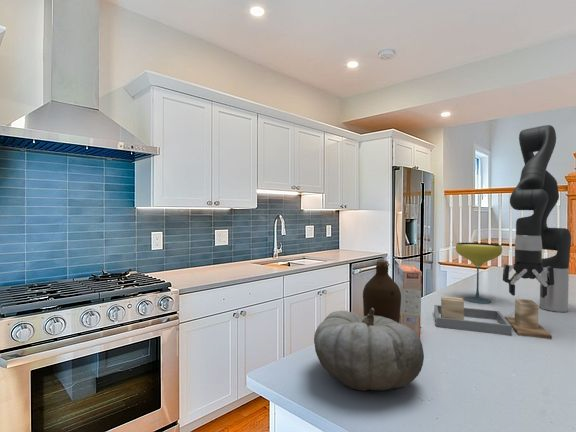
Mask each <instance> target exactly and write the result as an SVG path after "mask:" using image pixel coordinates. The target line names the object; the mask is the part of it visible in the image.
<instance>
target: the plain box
mask: <svg viewBox="0 0 576 432" xmlns="http://www.w3.org/2000/svg"><path fill="white" fill-rule="evenodd" d="M440 305H441V314H440V318H449V319H459V320H465V319H464V317H465V316H464V308H465V301H464V298H462V297H461V298H460V297H453V296H452V297H451V296H441V297H440Z"/></svg>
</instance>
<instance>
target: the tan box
mask: <svg viewBox="0 0 576 432" xmlns="http://www.w3.org/2000/svg"><path fill="white" fill-rule="evenodd" d="M514 317H515V322H516V323H517V325H518V326H519V327H520V328H530V329H538V324H539V303H536V302H535V301H534V300H532V299H524V298H514Z"/></svg>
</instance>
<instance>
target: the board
mask: <svg viewBox="0 0 576 432" xmlns="http://www.w3.org/2000/svg"><path fill="white" fill-rule="evenodd" d="M504 317H505V319H506V320H507V321H508V322H509V323H510V325H511V326H512V328H513V329H512V331H514V332H515V333H516V334H517V336H522V337H530V338H531V337H532V338H539V339H547V340H552V339H553V336H552V334H551V333H550V332H548V331H547V330H546V329H545V328H544V327H543V326H542V325H541V324H539V323H538V329H530V328H520V327H519V326H518V325H517V323H516V322H515V316H514V317H513V316H506V315H505V316H504Z"/></svg>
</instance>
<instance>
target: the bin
mask: <svg viewBox="0 0 576 432" xmlns="http://www.w3.org/2000/svg"><path fill="white" fill-rule="evenodd" d="M433 306H434V307H433V314H434V319H435V320H434V321H435V324H436V325H435V326H436V327H437V328H446V329H454V330H463V331H470V332H481V333H488V334H497V335H504V334H505V335H506V336H512V333H513V332H512V331H513V329H512V326H511V325H510V323H509V322H508V321H507V320H506V319H505V316H504V315H503V314H502V313H501V311H499V310H491V309H483V308H482V309H481V308H471V307H464V317H467V318H477V319H488V320H496V322H498V323H495V322H486V321H475V320H467V319H466V320H465V319H464V320H459V319H449V318H441V304H440V305H439V304H434V305H433ZM499 323H500V324H499ZM505 335H504V336H505Z"/></svg>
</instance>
